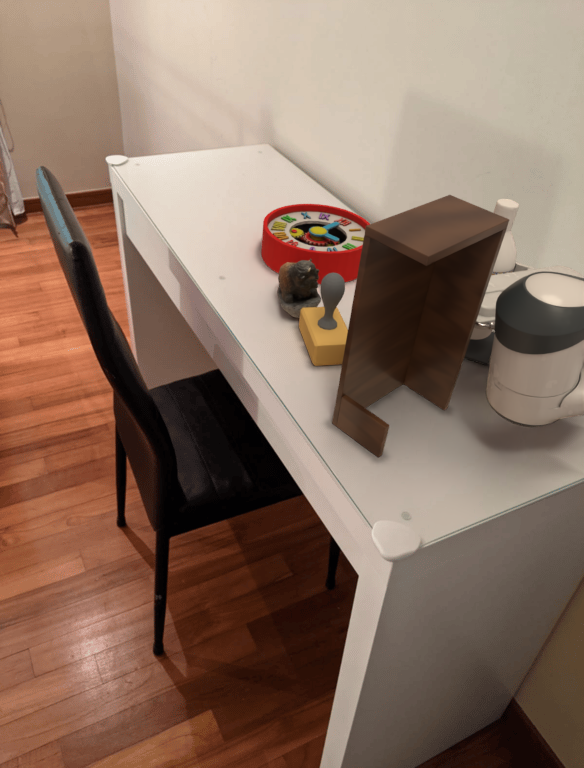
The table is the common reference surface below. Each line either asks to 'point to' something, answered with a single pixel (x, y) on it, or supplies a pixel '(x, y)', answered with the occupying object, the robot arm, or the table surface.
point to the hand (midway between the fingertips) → (483, 267)
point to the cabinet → (414, 308)
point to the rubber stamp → (325, 324)
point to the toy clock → (314, 238)
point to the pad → (480, 349)
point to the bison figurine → (298, 286)
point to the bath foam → (503, 251)
